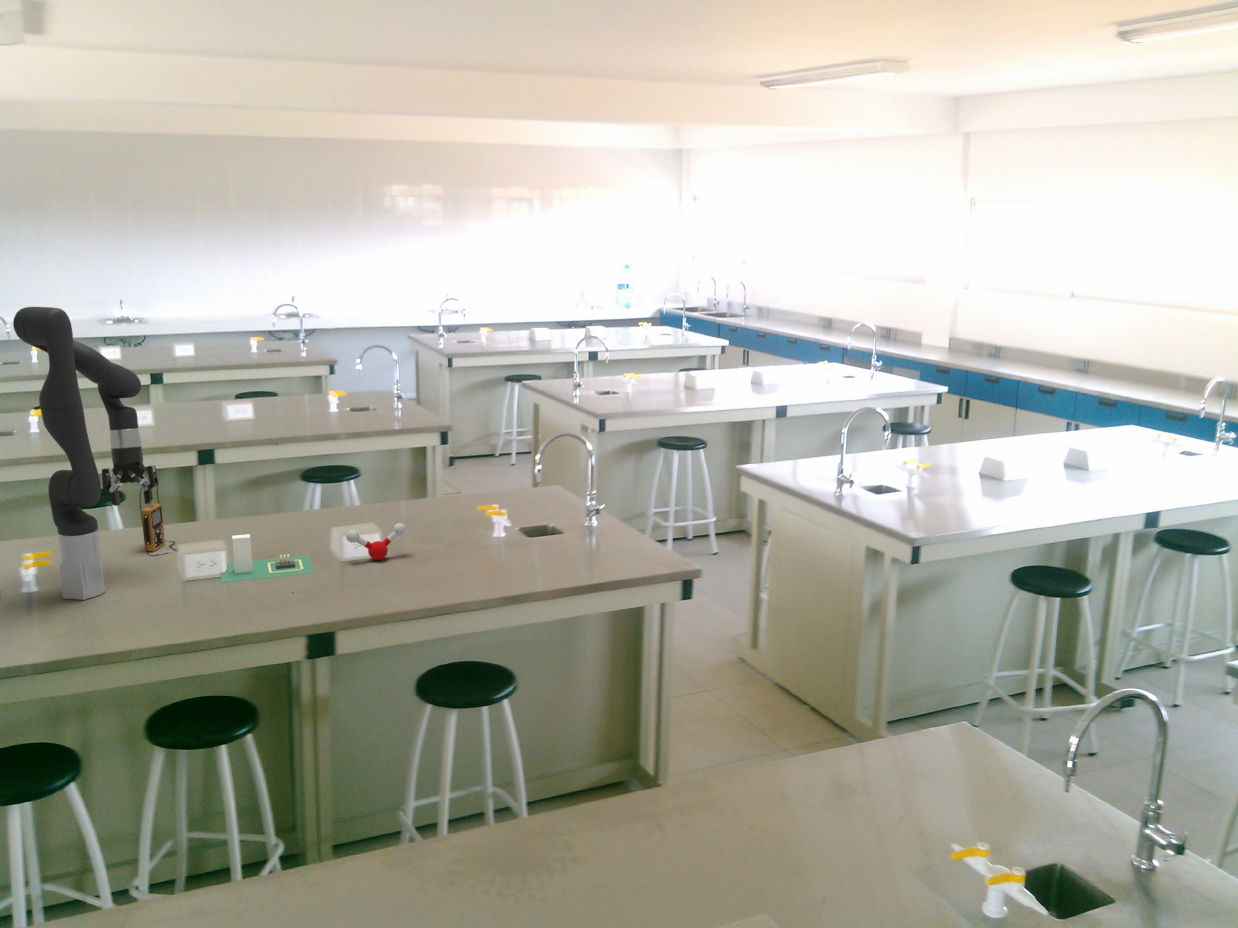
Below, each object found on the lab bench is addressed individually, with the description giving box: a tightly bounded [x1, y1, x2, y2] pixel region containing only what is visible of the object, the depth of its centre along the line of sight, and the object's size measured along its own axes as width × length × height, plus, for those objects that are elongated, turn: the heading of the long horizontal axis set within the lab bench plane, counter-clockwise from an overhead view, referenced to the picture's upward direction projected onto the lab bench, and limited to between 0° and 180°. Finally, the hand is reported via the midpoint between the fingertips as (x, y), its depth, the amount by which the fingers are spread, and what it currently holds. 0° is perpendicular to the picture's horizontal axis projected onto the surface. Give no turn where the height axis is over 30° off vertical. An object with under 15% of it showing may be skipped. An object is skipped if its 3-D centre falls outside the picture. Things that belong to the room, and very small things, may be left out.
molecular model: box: [345, 522, 407, 561], centre depth 292 cm, size 18×6×10 cm, turn 120°
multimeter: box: [139, 487, 178, 557], centre depth 296 cm, size 15×10×20 cm
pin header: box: [275, 553, 295, 569], centre depth 281 cm, size 3×5×4 cm
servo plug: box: [231, 533, 253, 573], centre depth 276 cm, size 3×5×10 cm, turn 113°
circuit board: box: [220, 554, 315, 584], centre depth 279 cm, size 24×16×2 cm, turn 113°
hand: (132, 504), depth 273 cm, fingers open, 8 cm apart
